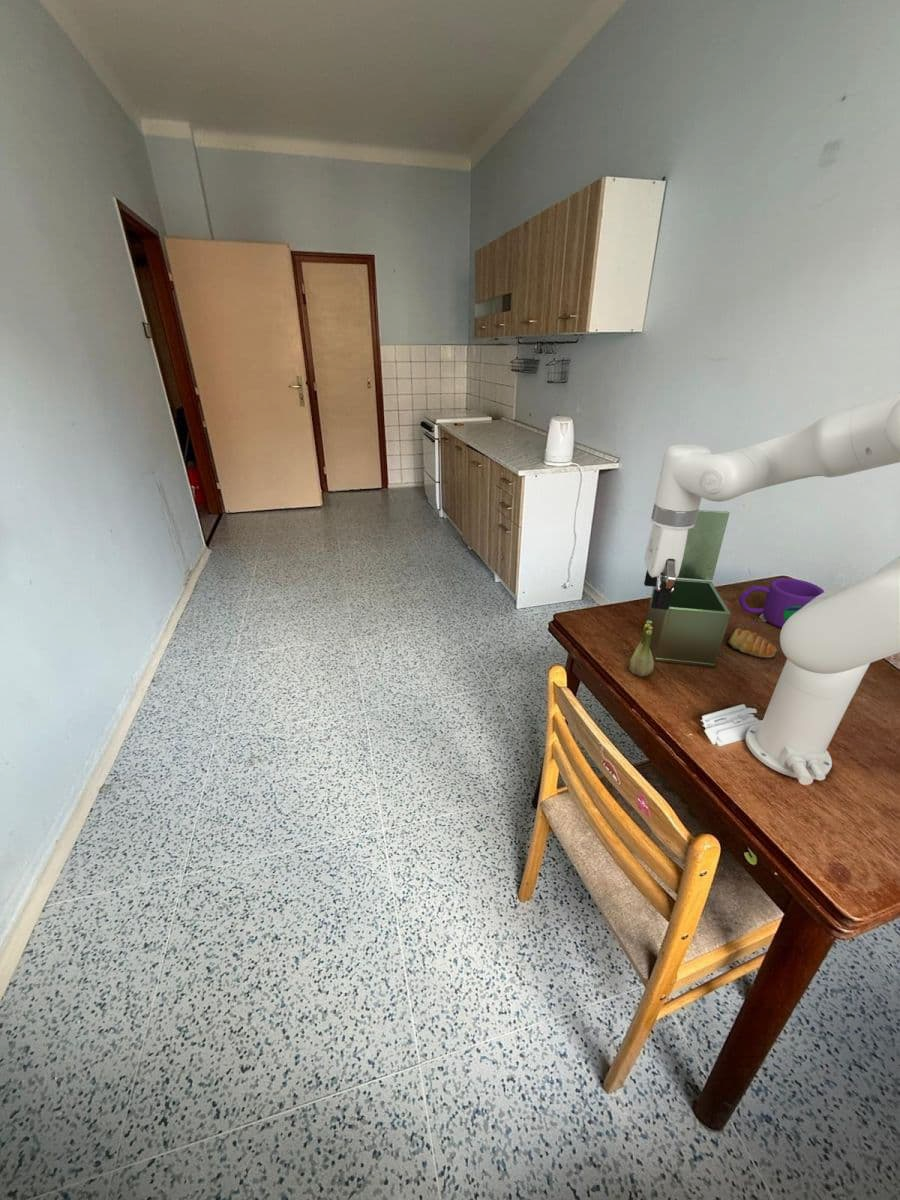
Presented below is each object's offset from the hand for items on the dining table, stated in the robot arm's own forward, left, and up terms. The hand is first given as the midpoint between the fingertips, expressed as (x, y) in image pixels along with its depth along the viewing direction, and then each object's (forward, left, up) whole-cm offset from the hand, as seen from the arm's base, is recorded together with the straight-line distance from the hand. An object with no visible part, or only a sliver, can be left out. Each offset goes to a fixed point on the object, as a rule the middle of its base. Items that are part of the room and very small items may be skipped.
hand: (655, 596), depth 95 cm
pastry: (+15, -26, -19) cm, 36 cm away
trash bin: (+13, -10, -19) cm, 25 cm away
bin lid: (+21, -10, +4) cm, 23 cm away
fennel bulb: (0, 0, -19) cm, 19 cm away
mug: (+30, -36, -19) cm, 50 cm away
